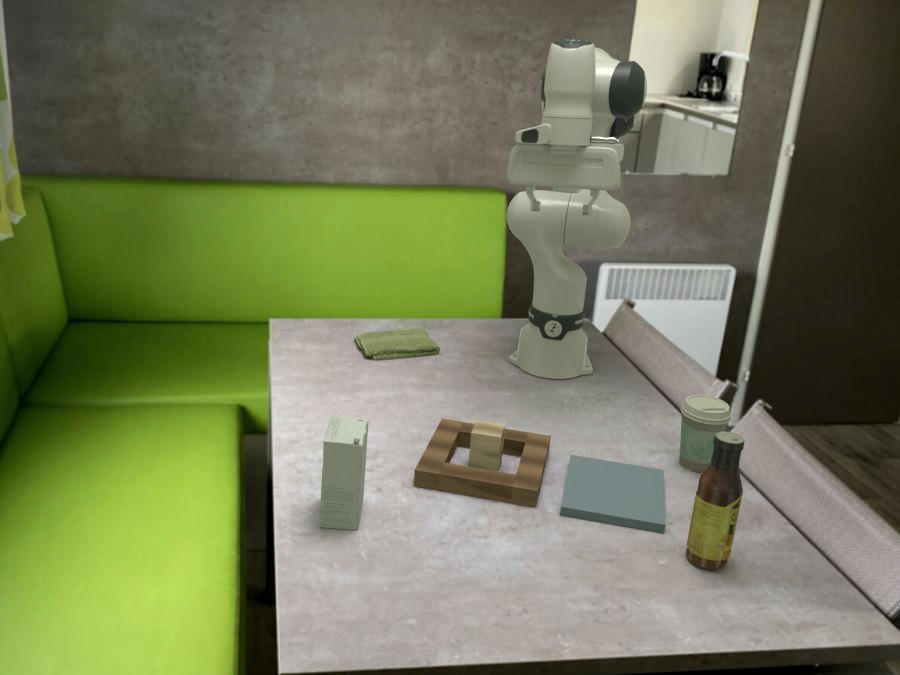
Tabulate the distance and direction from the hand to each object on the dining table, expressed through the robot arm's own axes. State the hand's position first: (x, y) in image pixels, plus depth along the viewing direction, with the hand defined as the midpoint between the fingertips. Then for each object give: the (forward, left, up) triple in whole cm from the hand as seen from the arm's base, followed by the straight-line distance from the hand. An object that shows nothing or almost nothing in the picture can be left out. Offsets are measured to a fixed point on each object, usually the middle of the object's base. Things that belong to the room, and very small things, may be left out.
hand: (560, 212), depth 158 cm
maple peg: (+26, -6, -40) cm, 48 cm away
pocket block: (+26, -6, -40) cm, 48 cm away
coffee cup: (+12, +30, -40) cm, 51 cm away
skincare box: (+48, -24, -40) cm, 67 cm away
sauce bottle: (+42, +30, -40) cm, 65 cm away
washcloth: (-22, -35, -41) cm, 58 cm away
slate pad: (+28, +16, -40) cm, 51 cm away
